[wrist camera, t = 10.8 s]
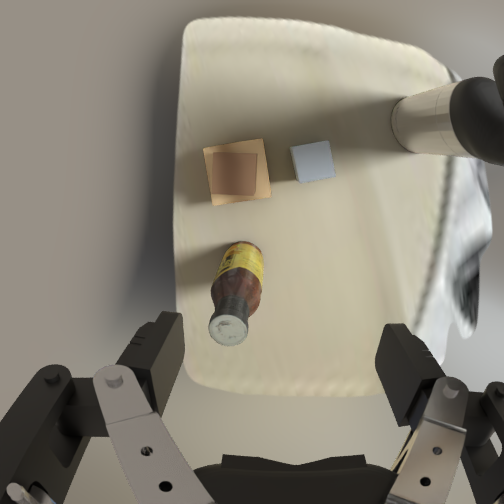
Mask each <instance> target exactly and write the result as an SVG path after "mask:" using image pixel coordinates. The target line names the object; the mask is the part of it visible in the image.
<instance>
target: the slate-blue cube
mask: <svg viewBox="0 0 504 504" xmlns="http://www.w3.org/2000/svg"><path fill="white" fill-rule="evenodd" d="M289 148H290V152H291V157H292V161H293V166H294V171H295V176H296V180H297V181H298V182H299V183H305V182H310V181H315V180H321V179H326V178H332V177H336V174H335V169H334V164H333V159H332V154H331V149H330V144H329V140H327V141H321V142H315V143H309V144H304V145H298V146H293V147H289Z"/></svg>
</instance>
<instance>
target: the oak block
mask: <svg viewBox="0 0 504 504" xmlns="http://www.w3.org/2000/svg"><path fill="white" fill-rule="evenodd" d="M203 152H204V158H205V164H206V170H207V176H208V181H209V187H210V193H211V198H212V204H213V206H215V205H221V204H228V203H234V202H241V201H248V200H255V199H262V198H269V197H271V188H270V181H269V175H268V168H267V161H266V155H265V149H264V142H263V138H260V139H253V140H247V141H241V142H235V143H229V144H223V145H217V146H212V147H207V148H203ZM213 152H230V153H254V154H257V173H256V191H255V194H254V196H243V195H222V194H212V167H213Z"/></svg>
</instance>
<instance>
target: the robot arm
mask: <svg viewBox="0 0 504 504" xmlns="http://www.w3.org/2000/svg"><path fill="white" fill-rule="evenodd" d="M493 74H494V78H495V81H493V80H491V79H489V78H485V77H474V78H469V79H466V80H462V81H459V82H455V83H452V84H449V85H445V86H442V87H439V88H435V89H432V90H429V91H426V92H422V93H419V94H416V95H413V96H410V97H407V98H404V99H402V100H400V101H399V102H398V103H397V104H396V106H395V107H394V109H393V112H392V117H391V125H392V129H393V133H394V135H395V137H396V139H397V140H398V142H399V143H400V144H401V145H402V146H403V147H404V148H406V149H407V150H409V151H411V152H414V153H423V154H434V155H446V156H457V157H466V158H476V159H482V160H483V161H485V162H488V163H491V164H496V165H501V166H504V55H503V56H501V57H499V59H497V60H496V62H495V64H494V67H493ZM184 353H185V343H184V330H183V317H182V314H181V313H176V312H167V311H162V312H161V314H160V315H159V317H158V318H157V320H156V322H155V323H154V322H148V323H146V324H145V325H143V326H142V327H140V328H139V329H138V331H137V332H136V334H135V335H134V337H133V338H132V340H131V341H130V344H128V346H127V347H126V349H125V350H124V352H123V353H122V355H121V356H120V358H119V360H118V361H117V363H116V364H115V365H109V366H105V367H103V368H101V369H100V370H98V371H97V372H96V373H95V375H94V377H93V378H72V376H71V373H70V371H69V370H68V368H66V367H64V366H62V365H48V366H46V367H43V368H42V369H40V370H39V371H38V372H37V373H36V374H35V375H34V377H33V378H32V380H31V381H30V382H29V383H28V385H27V386H26V387H25V389H24V390H23V391H22V393H21V394H20V395H19V397H18V398H17V399H16V401H15V402H14V404H13V405H12V406H11V408H10V409H9V410H8V412H7V413H6V415H5V416H4V418H3V419H2V420H1V422H0V504H63V502H64V500H65V497H66V495H67V492H68V490H69V487H70V485H71V482H72V480H73V478H74V475H75V473H76V470H77V468H78V466H79V463H80V461H81V459H82V456H83V454H84V452H85V449H86V447H87V445H88V443H89V441H90V438H91V437H110V439H111V442H112V444H113V447H114V450H115V452H116V455H117V457H118V460H119V462H120V464H121V467H122V469H123V472H124V474H125V476H126V478H127V480H128V483H129V485H130V487H131V489H132V491H133V494H134V496H135V498H136V500H137V502H138V504H445V502H446V499H447V497H448V494H449V491H450V488H451V485H452V482H453V479H454V476H455V473H456V469H457V466H458V463H459V460H460V458H461V461H462V463H463V466H464V469H465V472H466V475H467V477H468V480H469V483H470V485H471V489H472V492H473V495H474V498H475V501H476V504H504V383H502V382H491V383H489V385H488V386H487V387H486V389H485V391H484V393H482V392H470V391H469V390H468V388H467V386H466V385H465V384H464V383H463V382H462V381H461V380H458V379H457V378H454V377H447V376H446V375H445V373H444V372H443V370H442V369H441V367H440V366H439V364H438V363H437V361H436V360H435V358H434V357H433V355H432V354H431V352H430V351H429V349H428V348H427V346H426V345H425V343H424V342H423V341H422V340H421V339H419V338H418V337H417V336H415V335H412V334H411V332H410V331H409V330H408V328H407V327H406V325H405V324H403V323H401V324H386V325H385V327H384V329H383V333H382V336H381V340H380V343H379V346H378V350H377V353H376V357H375V368H376V371H377V373H378V376H379V378H380V381H381V383H382V385H383V388H384V390H385V393H386V395H387V398H388V400H389V403H390V406H391V408H392V411H393V413H394V416H395V418H396V421H397V424H398V426H399V427H401V426H408V425H410V427H411V430H410V432H409V433H408V435H407V437H406V439H405V442H404V444H403V446H402V448H401V450H400V452H399V454H398V456H397V458H396V460H395V461H394V463H393V465H392V467H391V469H390V470H388V469H386V468H383V467H380V466H376V465H372V464H366V460H365V456H364V454H363V455H353V456H340V457H330V458H326V459H322V460H318V461H315V462H310V463H306V464H301V465H290V464H286V463H282V462H277V461H273V460H268V459H264V458H260V457H248V456H236V455H225V454H223V457H222V463H221V464H214V465H208V466H204V467H201V468H197V469H195V470H192V469H191V467H190V466H189V464H188V463H187V461H186V460H185V458H184V456H183V455H182V453H181V452H180V450H179V448H178V447H177V445H176V444H175V442H174V440H173V439H172V437H171V435H170V434H169V432H168V430H167V428H166V427H165V425H164V423H163V421H162V420H161V417H162V414H163V412H164V409H165V406H166V403H167V401H168V398H169V396H170V393H171V391H172V387H173V385H174V383H175V380H176V377H177V375H178V372H179V370H180V367H181V364H182V362H183V359H184ZM495 431H496V433H497V435H498V437H499V439H500V441H501V443H502V452H501V455H500V457H498V455H497V453H496V451H495V448H494V446H493V444H492V442H491V440H490V437H491V436H492V434H493V433H494V432H495Z"/></svg>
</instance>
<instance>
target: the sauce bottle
mask: <svg viewBox="0 0 504 504" xmlns="http://www.w3.org/2000/svg"><path fill="white" fill-rule="evenodd" d="M263 266H264V262H263V257H262V254H261V251H260V249H259V248H258V247H257V246H255V245H254V244H252V243H250V242H245V241H243V242H238V243H235V244H233V245H232V246H231V247H230V248H229V249H228V250H227V251H226V253H225V254H224V257H223V259H222V262H221V264H220V266H219V269H218V272H217V274H216V277H215V279H214V282H213V285H212V287H211V297H212V300H213V303H214V306H215V312H214V313H213V315H212V316H211V319H210V323H209V333H210V336H211V337H212V338H213V339H214V340H215V341H216V342H217V343H219V344H221V345H224V346H235V345H238V344H240V343H242V342H243V341H244V340H245V338H246V336H247V333H248V317H250V316H251V315H252V314H253V313H254V312H255V311H256V310H257V308H258V306H259V303H260V295H261V292H262V280H263Z"/></svg>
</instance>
